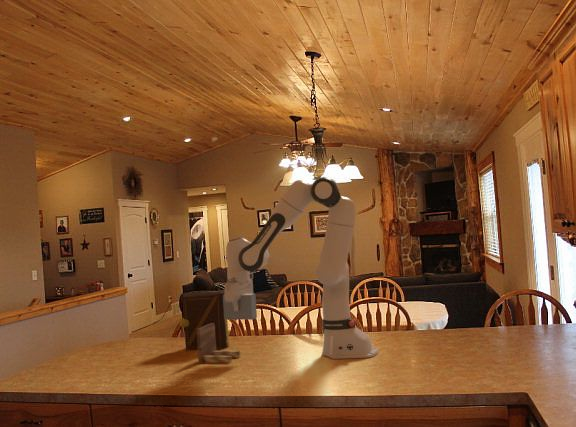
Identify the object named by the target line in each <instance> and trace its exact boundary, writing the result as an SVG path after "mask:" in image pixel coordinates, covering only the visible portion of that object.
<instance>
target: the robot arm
mask: <svg viewBox="0 0 576 427" xmlns="http://www.w3.org/2000/svg"><path fill="white" fill-rule="evenodd" d="M313 202H316V203H318V204H320V205H323V206H324V207H326V208H327V209H328V215H327V216H328V217H327V220H326V221H327V222H326V228H325V235H324V239H323V244H322V246H321V247H322V248H321V251H320V254H319V257H318V258H319V259H318V264H317V266H316V271H315V276H316V278H317V281H318V282H319V283H320V284H322V285H323V286H322V297H321V306H322V307H321V309H322V317H323V318H322V320H321V321H322V323H321V325H322V332H323V346H322V352H321V354H322V356H324V357H327V358H330V359H331V358H332V360H335V359H336V360H339V359H359V358H360V359H364V358H365V359H366V358H372V357H375V356H376V355H377V354H378V353H379V350H378V347H376V346H373V344H372V341H371V338H370V335H368V334H367V333H366V332H365V331H362V330H361V329H360V328H359V327H357V324H356V323H357V321H356V318H353V317H351V308H350V265H349V264H348V257H349V253H350V249H351V248H352V244H353V243H352V242H353V235H354V230H355V223H356V204H355V201H353V200H352V199H351V198H349V197H346V196H342V194H340V187H339V185H338V183H337V182H336V180H334V179H333V178H331V177H329V176H328V177H325V176H322V177H319V178H317V179H315V180H314V181H313V183H308V182H307V181H306V180H301V179H300V180H299V179H298V180H295V181H293V183H291V185H289V187H288V188H287V189H286V190H285V191H284V193H283V194H282V195H281V197H280V199H279V200H278V201H277V204H276V205H275V206H274V208H273V211H272V212H271V214H270V216H269V218H268V219H267V221H266V222H265V224H264V226H263V227H262V229H261V230H260V231H259V233H258V234H257V235H256V237H255V238H254V239H253V241H249V240H247V239H246V238H245V237H237V238H233V239H230V240H229V241H227V243H226V248H225V249H226V251H225V253H226V257H225V258H226V259H225V260H226V264H227V269H226V273H227V276H226V278H227V280H226V282H225V285H224V292H225V301H226V302H232V304H233V306H234V311H239V310H240V309H239V306H238V300H240V299H241V295H243V294H254V283H253V282H254V281H253V279H254V274H253V273H252V272H255V271H257V270H259V269H261V268H263V267H264V266H266V265H268V263H269V262H270V259H271V255H270V254H271V253H270V251H269V247H270V246H271V244H272V243H273V242H274V240H275V239H276V237H277V236H278V235H280V233H281V232H283V231H284V230H286V229H287V228H289V227H291V226H293V225H294V224H295V223H296V222H297V221H298V220H299V218H301V216H302V215H303V214H304V212H305V210H306V208H307V207H308V206H309V205H310V204H311V203H313Z"/></svg>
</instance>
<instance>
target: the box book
mask: <svg viewBox="0 0 576 427" xmlns="http://www.w3.org/2000/svg"><path fill="white" fill-rule="evenodd" d="M256 298H257V297H256V293H253V294H243V295H241V299H240V300H238V306H239V309H240V310H239V311H234V306H233V304H232V302H226V301H225V295H223V307H224V319H227V320H237V321H238V320H245V321H246V320H251V321H253V320H255V319H257V318H258V316H257V299H256Z"/></svg>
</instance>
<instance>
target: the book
mask: <svg viewBox="0 0 576 427" xmlns="http://www.w3.org/2000/svg"><path fill="white" fill-rule="evenodd" d="M223 295H225V291H215V292H200V293H186V294H184V295H182V297H181V299H182V312H183V317H182V318H180V319H179V326H180V327H181V328H184V340H185V351H186V350H188V351H198V345H197V331H196V329H198V328H200V327H203V326H205V325H208V324H210V323H215V337H216V350H219V349H220V350H221V349H223V350H224V349H227V348H229V347H230V337H229V326H228V319H224V307H223Z"/></svg>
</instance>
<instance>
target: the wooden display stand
mask: <svg viewBox="0 0 576 427" xmlns="http://www.w3.org/2000/svg"><path fill="white" fill-rule="evenodd" d="M196 331H197V345H198V350H197V355H198V364H204V363H209V364H210V363H213V364H215V363H216V364H217V363H219V364H220V363H221V364H223V363H224V364H230V363H232V362H233V360H232V359H233V358H241V351H240V350H217V349H216V337H215V323H210V324H208V325H205V326H203V327H200V328H198V329H196Z"/></svg>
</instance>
